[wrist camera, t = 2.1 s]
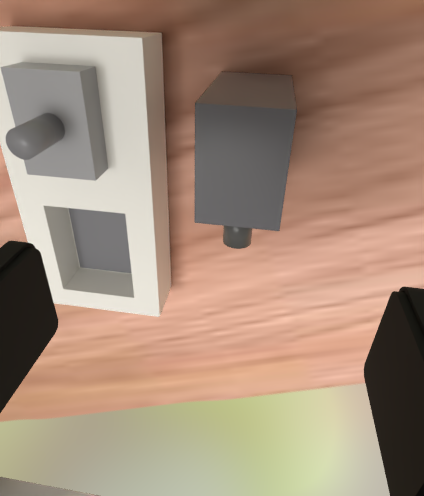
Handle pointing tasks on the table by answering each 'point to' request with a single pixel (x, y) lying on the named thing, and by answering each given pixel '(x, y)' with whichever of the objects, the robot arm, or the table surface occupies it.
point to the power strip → (112, 186)
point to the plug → (243, 152)
